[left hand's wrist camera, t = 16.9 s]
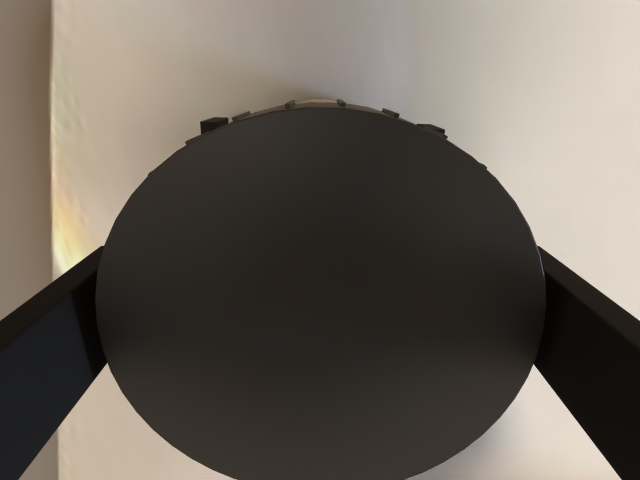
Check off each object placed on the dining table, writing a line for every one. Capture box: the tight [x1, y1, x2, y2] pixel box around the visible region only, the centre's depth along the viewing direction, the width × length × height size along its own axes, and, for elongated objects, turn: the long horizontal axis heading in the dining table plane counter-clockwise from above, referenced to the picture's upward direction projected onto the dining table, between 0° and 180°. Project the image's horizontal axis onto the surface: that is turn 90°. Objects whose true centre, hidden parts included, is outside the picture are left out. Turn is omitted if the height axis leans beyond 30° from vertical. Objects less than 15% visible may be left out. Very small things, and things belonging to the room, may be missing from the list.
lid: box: [95, 99, 546, 480], centre depth 11 cm, size 11×11×2 cm
